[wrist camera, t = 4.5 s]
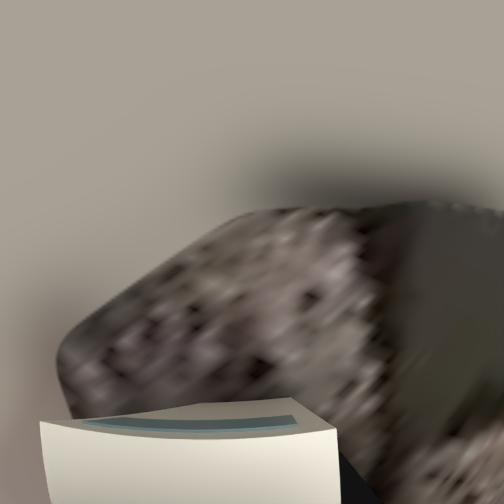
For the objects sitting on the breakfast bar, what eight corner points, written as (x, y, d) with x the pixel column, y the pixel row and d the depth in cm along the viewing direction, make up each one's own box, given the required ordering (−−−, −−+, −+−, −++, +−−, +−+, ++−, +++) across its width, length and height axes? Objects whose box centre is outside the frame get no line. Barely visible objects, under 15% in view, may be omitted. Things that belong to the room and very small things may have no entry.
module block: (297, 479, 13) (338, 637, 2) (207, 484, 13) (90, 616, 2) (290, 396, 14) (336, 424, 4) (200, 402, 15) (39, 418, 4)
